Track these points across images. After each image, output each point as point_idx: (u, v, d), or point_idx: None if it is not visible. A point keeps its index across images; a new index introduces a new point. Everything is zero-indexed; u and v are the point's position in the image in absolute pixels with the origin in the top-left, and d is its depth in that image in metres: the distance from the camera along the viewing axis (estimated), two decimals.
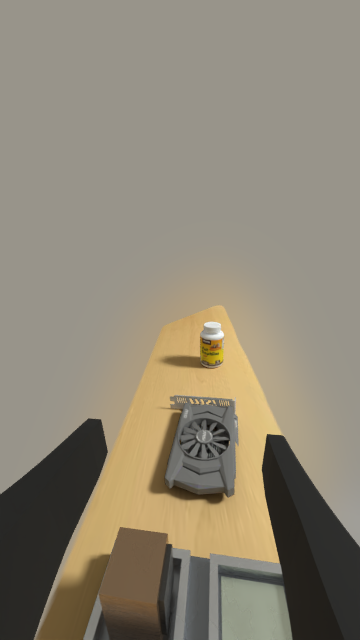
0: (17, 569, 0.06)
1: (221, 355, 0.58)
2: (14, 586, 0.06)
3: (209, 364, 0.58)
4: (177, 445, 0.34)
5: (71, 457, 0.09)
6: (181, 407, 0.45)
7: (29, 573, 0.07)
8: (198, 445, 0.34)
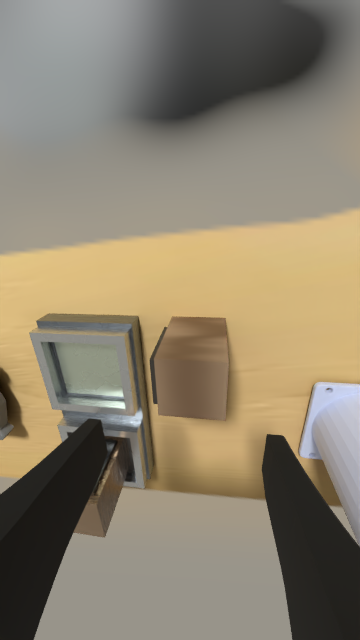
0: (17, 569, 0.06)
1: None
2: (14, 586, 0.06)
3: None
4: None
5: (71, 457, 0.09)
6: None
7: (29, 573, 0.07)
8: None
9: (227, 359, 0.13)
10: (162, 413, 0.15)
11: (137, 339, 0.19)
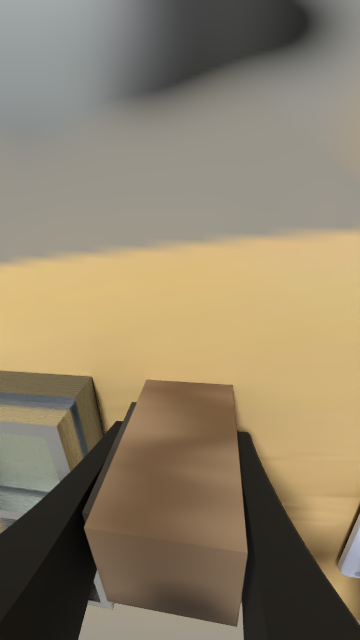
0: (63, 578, 0.06)
1: None
2: (61, 595, 0.06)
3: None
4: None
5: None
6: None
7: (72, 581, 0.07)
8: None
9: (243, 536, 0.06)
10: (114, 600, 0.08)
11: (90, 414, 0.12)
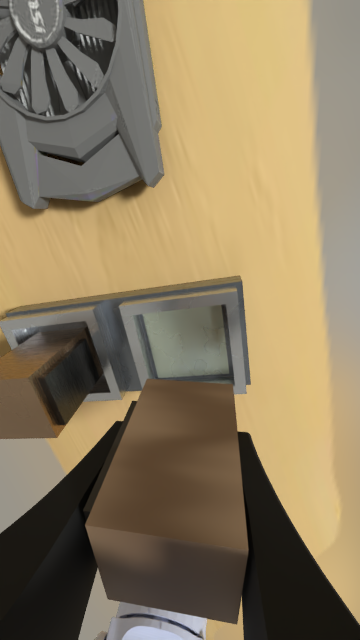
0: (63, 578, 0.06)
1: None
2: (61, 595, 0.06)
3: None
4: None
5: None
6: None
7: (72, 581, 0.07)
8: (38, 60, 0.11)
9: (244, 534, 0.06)
10: (114, 598, 0.08)
11: None
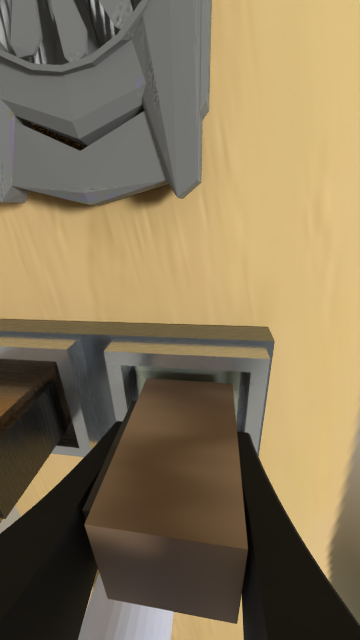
0: (63, 578, 0.06)
1: None
2: (61, 595, 0.06)
3: None
4: None
5: None
6: None
7: (72, 581, 0.07)
8: None
9: (243, 533, 0.06)
10: (114, 597, 0.08)
11: None
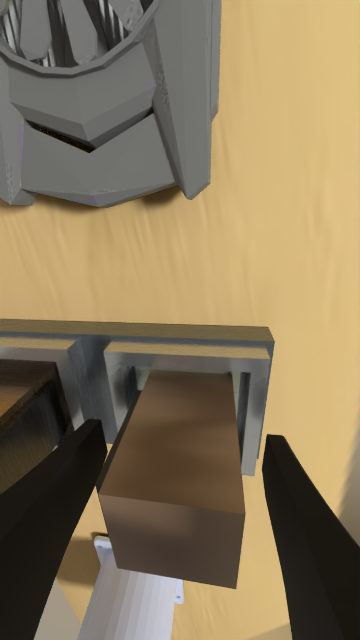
0: (17, 569, 0.06)
1: None
2: (14, 586, 0.06)
3: None
4: None
5: (71, 457, 0.09)
6: None
7: (29, 573, 0.07)
8: None
9: (242, 500, 0.07)
10: (123, 567, 0.08)
11: None
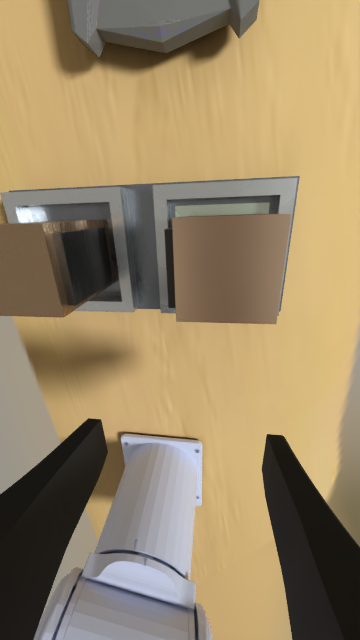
0: (17, 569, 0.06)
1: None
2: (14, 586, 0.06)
3: None
4: None
5: (71, 457, 0.09)
6: None
7: (29, 573, 0.07)
8: None
9: (286, 214, 0.08)
10: (182, 318, 0.10)
11: None
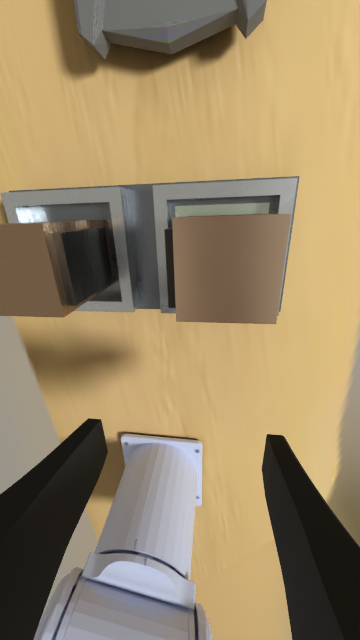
0: (17, 569, 0.06)
1: None
2: (14, 586, 0.06)
3: None
4: None
5: (71, 457, 0.09)
6: None
7: (29, 573, 0.07)
8: None
9: (286, 214, 0.08)
10: (182, 318, 0.10)
11: None
